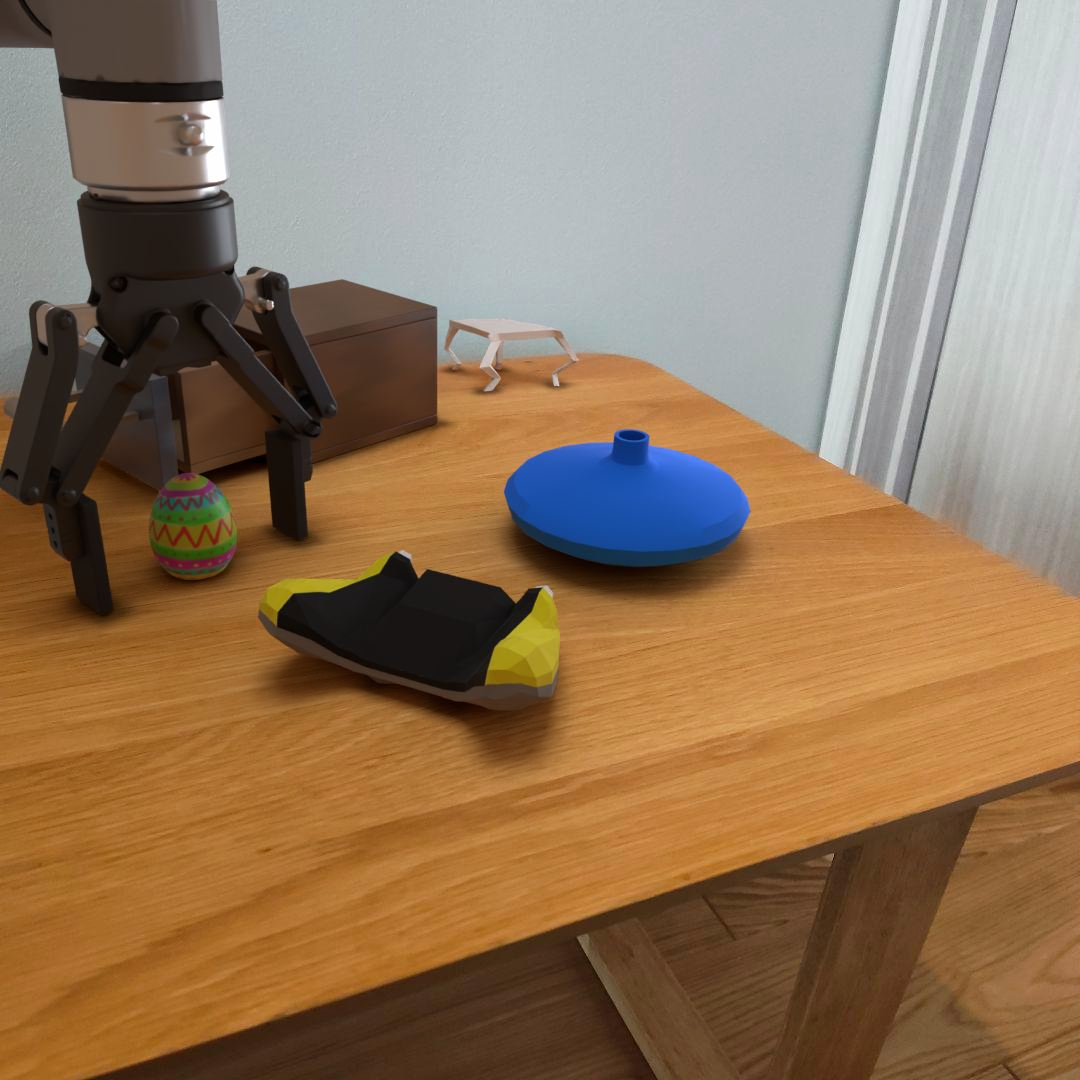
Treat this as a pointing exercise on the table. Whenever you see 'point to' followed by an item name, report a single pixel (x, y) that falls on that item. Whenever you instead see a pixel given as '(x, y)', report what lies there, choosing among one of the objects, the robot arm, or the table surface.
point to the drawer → (182, 420)
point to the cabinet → (364, 361)
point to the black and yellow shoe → (424, 632)
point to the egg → (192, 528)
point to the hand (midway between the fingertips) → (199, 565)
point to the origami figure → (501, 332)
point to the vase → (626, 502)
